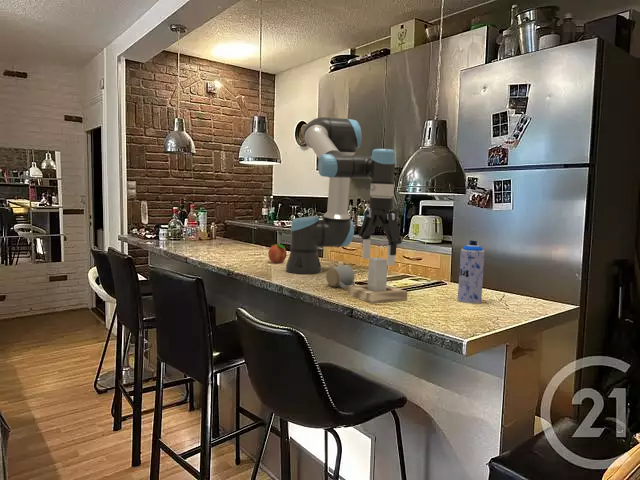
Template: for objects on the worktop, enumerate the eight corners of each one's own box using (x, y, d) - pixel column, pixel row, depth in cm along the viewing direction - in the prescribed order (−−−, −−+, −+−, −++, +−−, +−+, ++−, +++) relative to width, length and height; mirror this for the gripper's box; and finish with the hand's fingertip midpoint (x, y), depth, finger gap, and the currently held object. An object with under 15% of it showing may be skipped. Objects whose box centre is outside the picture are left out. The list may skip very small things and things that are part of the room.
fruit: (279, 260, 230) (279, 240, 229) (290, 263, 223) (291, 242, 222) (264, 262, 225) (264, 241, 224) (275, 264, 218) (276, 243, 217)
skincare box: (386, 295, 155) (388, 259, 154) (374, 296, 154) (376, 260, 152) (378, 292, 161) (379, 257, 160) (366, 292, 159) (368, 257, 158)
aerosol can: (452, 298, 158) (455, 239, 156) (470, 297, 161) (474, 239, 159) (468, 304, 151) (472, 242, 149) (487, 302, 154) (491, 241, 152)
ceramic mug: (324, 285, 173) (325, 264, 173) (340, 283, 179) (341, 263, 178) (343, 291, 165) (344, 269, 165) (360, 288, 171) (361, 267, 170)
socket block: (347, 294, 160) (348, 286, 159) (381, 291, 167) (381, 283, 166) (371, 303, 148) (372, 294, 147) (406, 299, 154) (407, 291, 154)
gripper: (350, 195, 163) (347, 256, 165) (396, 199, 141) (392, 269, 144) (368, 195, 166) (365, 255, 169) (415, 199, 145) (411, 267, 147)
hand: (377, 261), depth 156 cm, fingers open, 13 cm apart
